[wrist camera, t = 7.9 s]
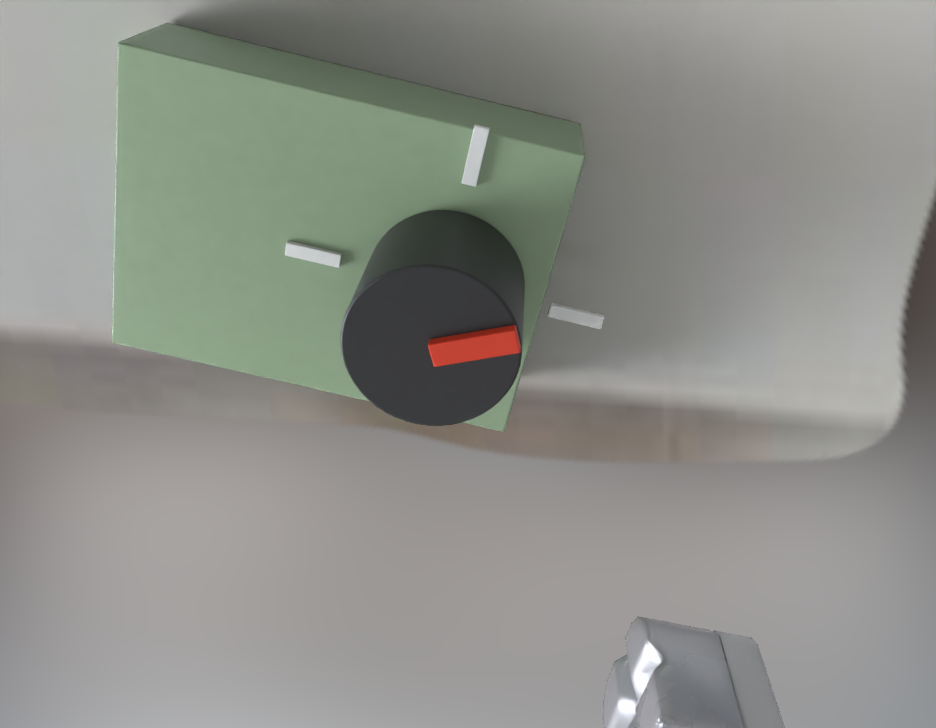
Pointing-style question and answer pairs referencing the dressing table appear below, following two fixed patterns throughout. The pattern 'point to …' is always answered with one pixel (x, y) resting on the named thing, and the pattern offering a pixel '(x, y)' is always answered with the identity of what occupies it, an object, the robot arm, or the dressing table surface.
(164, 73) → the dimmer panel
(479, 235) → the dimmer knob
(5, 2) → the dressing table surface
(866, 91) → the dressing table surface
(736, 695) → the robot arm
